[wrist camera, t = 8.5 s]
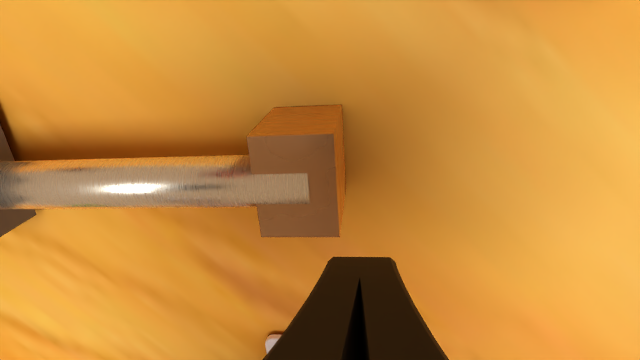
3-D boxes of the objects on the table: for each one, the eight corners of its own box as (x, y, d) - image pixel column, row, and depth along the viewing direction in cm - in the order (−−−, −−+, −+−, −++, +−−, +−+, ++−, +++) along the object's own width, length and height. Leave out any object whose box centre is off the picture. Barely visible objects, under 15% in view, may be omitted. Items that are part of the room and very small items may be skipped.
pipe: (341, 104, 17) (332, 136, 13) (345, 188, 19) (338, 241, 14) (-92, 123, 20) (-215, 154, 16) (-57, 194, 21) (-160, 239, 17)
